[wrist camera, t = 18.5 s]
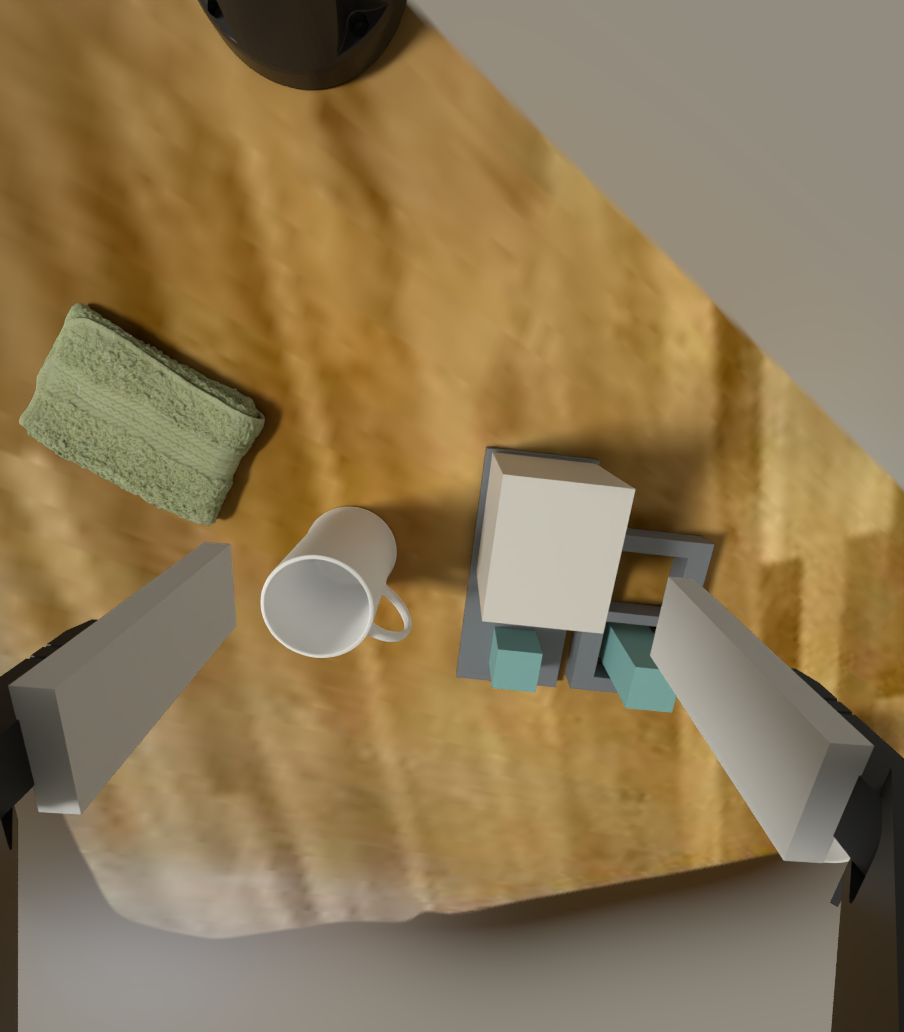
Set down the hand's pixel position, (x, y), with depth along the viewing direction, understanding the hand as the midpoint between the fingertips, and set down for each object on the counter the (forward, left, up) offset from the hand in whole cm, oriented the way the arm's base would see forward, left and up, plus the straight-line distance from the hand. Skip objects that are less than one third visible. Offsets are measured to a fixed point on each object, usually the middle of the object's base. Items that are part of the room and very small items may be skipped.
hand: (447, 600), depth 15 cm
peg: (+17, +19, -30) cm, 39 cm away
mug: (+11, -7, -30) cm, 33 cm away
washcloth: (0, -26, -30) cm, 40 cm away
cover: (+5, +8, -28) cm, 30 cm away
